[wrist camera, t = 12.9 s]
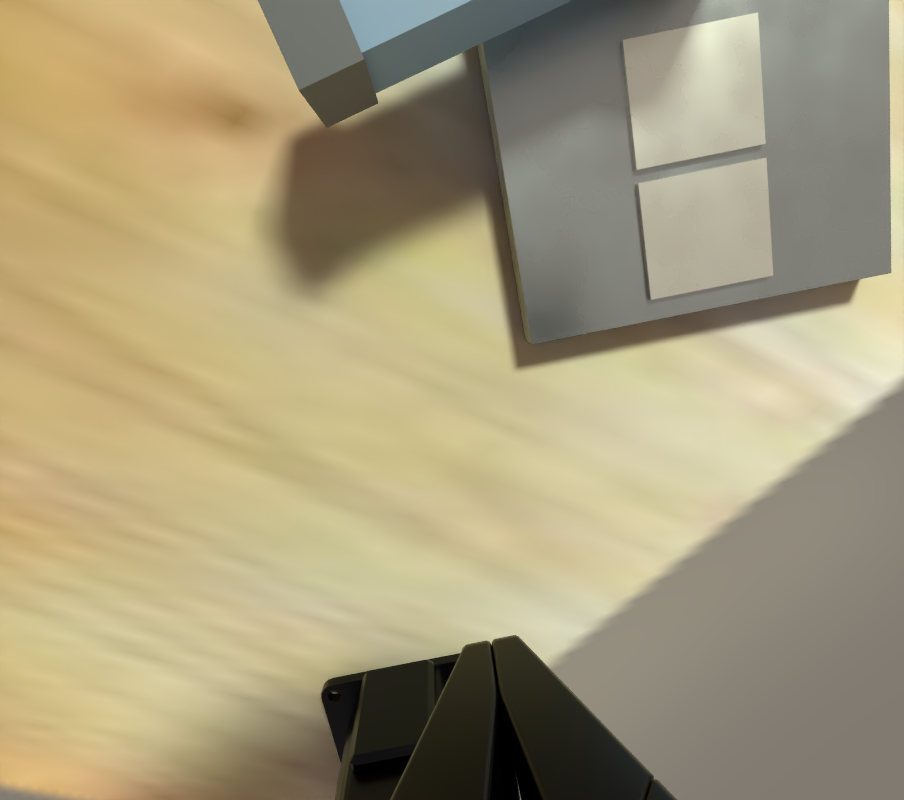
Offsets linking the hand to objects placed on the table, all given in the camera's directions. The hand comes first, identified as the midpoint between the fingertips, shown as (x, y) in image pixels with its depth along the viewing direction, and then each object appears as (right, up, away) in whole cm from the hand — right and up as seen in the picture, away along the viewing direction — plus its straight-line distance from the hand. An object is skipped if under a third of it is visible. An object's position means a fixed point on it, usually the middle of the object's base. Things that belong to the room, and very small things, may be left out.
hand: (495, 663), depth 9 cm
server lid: (+7, +13, +10) cm, 17 cm away
